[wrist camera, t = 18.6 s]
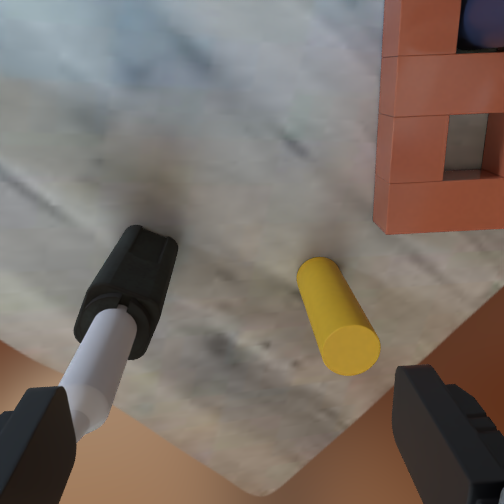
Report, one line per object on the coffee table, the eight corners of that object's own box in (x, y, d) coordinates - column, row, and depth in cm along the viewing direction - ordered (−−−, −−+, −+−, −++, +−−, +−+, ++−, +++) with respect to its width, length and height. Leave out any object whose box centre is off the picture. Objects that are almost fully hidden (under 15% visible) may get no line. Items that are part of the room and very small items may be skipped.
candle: (182, 241, 44) (132, 434, 21) (162, 288, 45) (95, 517, 22) (128, 220, 43) (12, 398, 20) (110, 269, 45) (-17, 487, 21)
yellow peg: (296, 257, 45) (322, 326, 33) (340, 255, 45) (382, 323, 33) (296, 297, 47) (321, 378, 34) (339, 295, 47) (379, 374, 35)
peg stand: (388, -81, 36) (407, -99, 32) (571, -87, 36) (611, -105, 33) (372, 221, 44) (386, 235, 40) (521, 213, 45) (548, 226, 41)
